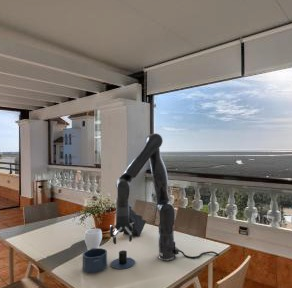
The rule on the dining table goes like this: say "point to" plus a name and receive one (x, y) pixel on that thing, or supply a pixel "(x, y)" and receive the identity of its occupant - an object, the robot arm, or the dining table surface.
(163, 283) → the dining table surface
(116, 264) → the lid
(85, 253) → the pot
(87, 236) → the white vase
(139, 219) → the decorative tree
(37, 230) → the dining table surface
